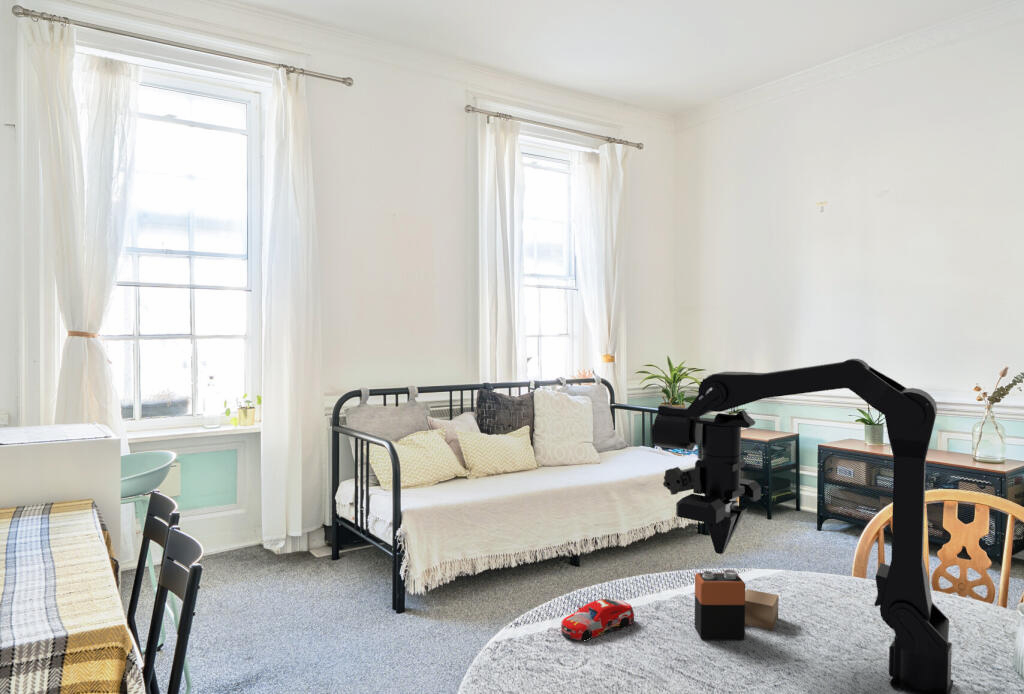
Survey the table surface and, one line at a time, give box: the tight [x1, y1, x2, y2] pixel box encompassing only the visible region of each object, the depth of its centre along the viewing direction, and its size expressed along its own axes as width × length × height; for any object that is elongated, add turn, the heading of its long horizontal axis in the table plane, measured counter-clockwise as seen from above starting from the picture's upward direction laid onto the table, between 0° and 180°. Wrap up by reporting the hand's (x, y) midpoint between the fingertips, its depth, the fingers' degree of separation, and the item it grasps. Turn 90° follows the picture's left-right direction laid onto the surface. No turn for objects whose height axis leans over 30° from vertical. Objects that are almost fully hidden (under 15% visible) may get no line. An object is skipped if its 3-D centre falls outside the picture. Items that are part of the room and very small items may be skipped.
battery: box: [694, 569, 746, 641], centre depth 107 cm, size 4×7×10 cm, turn 89°
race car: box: [560, 598, 635, 642], centre depth 109 cm, size 13×5×4 cm, turn 122°
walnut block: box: [745, 588, 779, 631], centre depth 112 cm, size 5×5×4 cm
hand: (719, 553), depth 106 cm, fingers closed
